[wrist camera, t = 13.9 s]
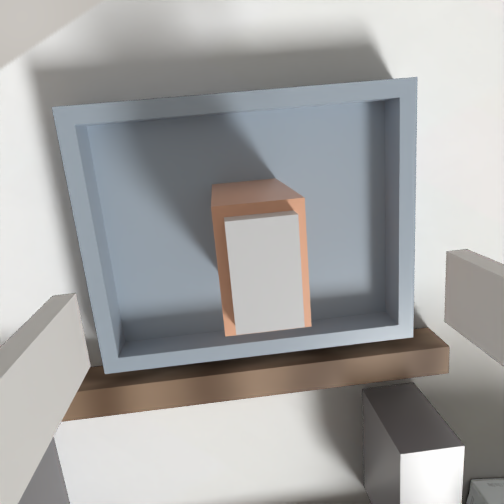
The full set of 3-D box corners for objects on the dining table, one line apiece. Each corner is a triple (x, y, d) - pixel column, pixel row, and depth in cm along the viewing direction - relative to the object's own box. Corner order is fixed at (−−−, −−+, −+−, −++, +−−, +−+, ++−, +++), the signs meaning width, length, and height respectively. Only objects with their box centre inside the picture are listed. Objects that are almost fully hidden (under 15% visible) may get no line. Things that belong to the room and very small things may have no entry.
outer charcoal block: (363, 485, 35) (399, 569, 28) (361, 388, 32) (400, 454, 26) (411, 478, 35) (458, 560, 28) (413, 382, 33) (464, 445, 26)
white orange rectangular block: (221, 275, 28) (225, 346, 19) (211, 184, 27) (210, 210, 17) (281, 269, 28) (316, 336, 19) (275, 178, 27) (309, 200, 17)
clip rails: (22, 580, 34) (5, 621, 31) (-37, 382, 29) (-64, 408, 27) (422, 522, 36) (441, 555, 33) (427, 327, 31) (449, 346, 29)
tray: (115, 351, 30) (104, 374, 27) (70, 110, 26) (51, 107, 23) (394, 318, 31) (413, 337, 28) (395, 83, 27) (417, 76, 24)
